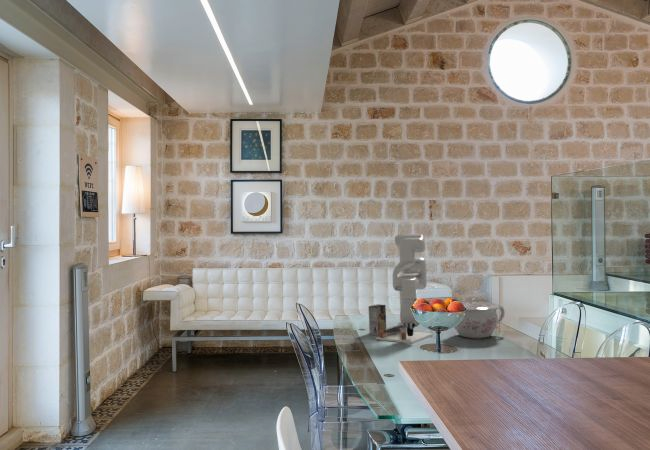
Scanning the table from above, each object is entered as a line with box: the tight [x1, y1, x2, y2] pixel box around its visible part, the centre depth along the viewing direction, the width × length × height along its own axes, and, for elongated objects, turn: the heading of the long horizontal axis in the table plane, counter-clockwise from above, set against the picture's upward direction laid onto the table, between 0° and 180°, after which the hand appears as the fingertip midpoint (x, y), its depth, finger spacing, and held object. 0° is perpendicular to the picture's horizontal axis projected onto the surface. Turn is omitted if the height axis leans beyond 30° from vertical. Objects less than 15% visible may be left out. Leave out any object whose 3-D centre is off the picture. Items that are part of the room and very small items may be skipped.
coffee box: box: [368, 304, 387, 336], centre depth 317 cm, size 9×6×16 cm
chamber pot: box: [453, 298, 506, 340], centre depth 299 cm, size 28×28×21 cm
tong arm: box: [401, 326, 407, 339], centre depth 300 cm, size 19×3×4 cm, turn 170°
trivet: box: [376, 331, 434, 344], centre depth 302 cm, size 24×22×1 cm
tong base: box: [378, 325, 407, 338], centre depth 305 cm, size 22×5×5 cm, turn 142°
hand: (410, 335), depth 292 cm, fingers closed
